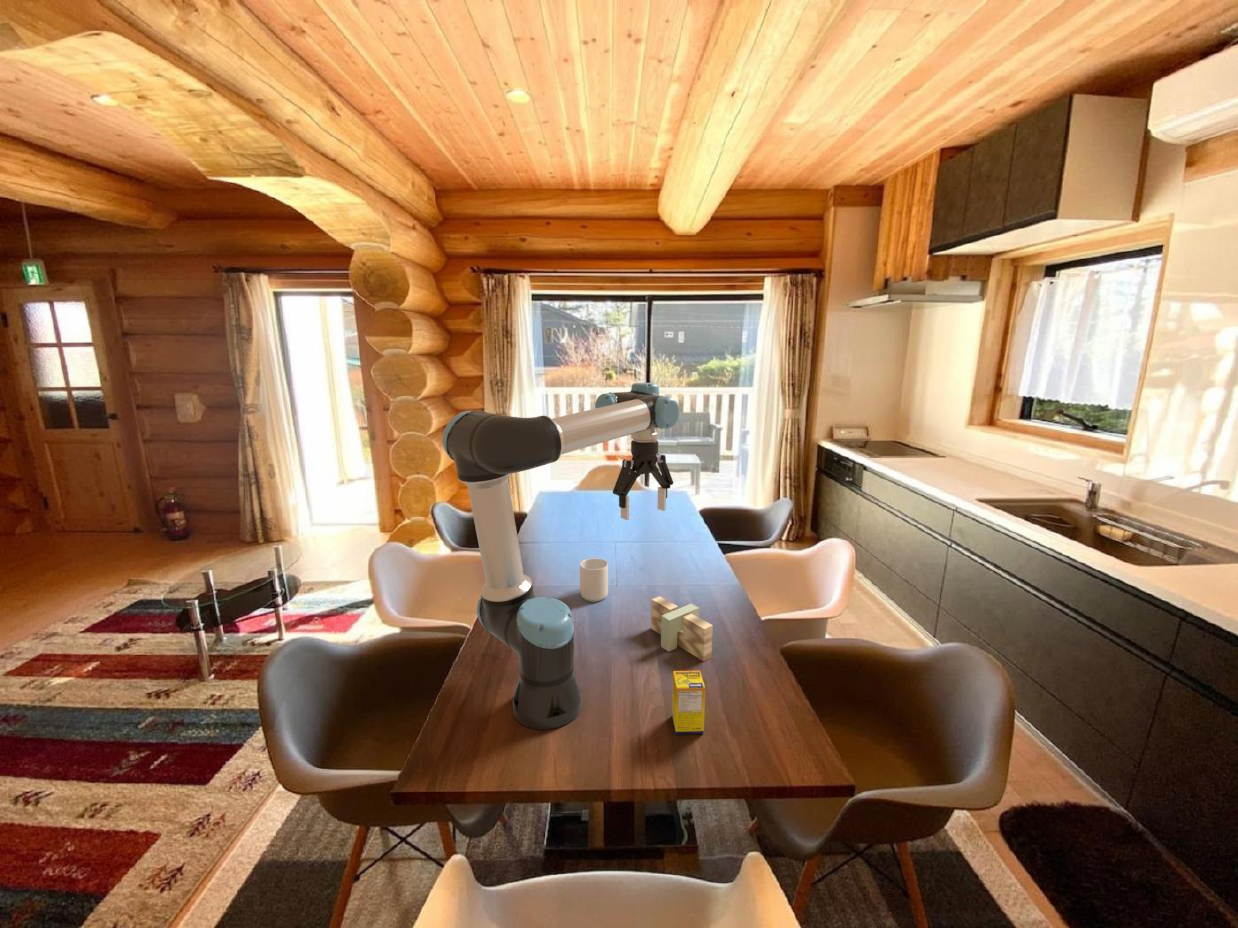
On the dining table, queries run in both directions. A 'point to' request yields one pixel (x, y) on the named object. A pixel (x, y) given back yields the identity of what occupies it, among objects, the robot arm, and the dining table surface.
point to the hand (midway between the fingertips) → (643, 514)
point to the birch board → (685, 629)
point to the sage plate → (674, 625)
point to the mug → (594, 579)
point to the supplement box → (688, 702)
